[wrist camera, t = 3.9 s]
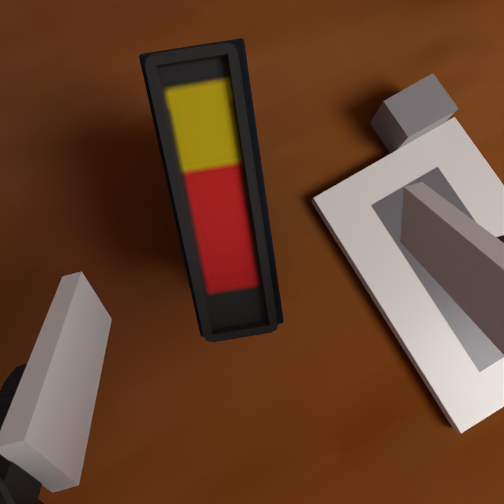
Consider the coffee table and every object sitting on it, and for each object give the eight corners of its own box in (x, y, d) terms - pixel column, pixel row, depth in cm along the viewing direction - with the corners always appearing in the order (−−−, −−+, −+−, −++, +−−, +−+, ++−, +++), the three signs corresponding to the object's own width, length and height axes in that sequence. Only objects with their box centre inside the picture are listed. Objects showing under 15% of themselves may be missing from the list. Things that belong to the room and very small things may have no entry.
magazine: (236, 91, 26) (245, 27, 12) (262, 262, 30) (293, 373, 15) (185, 99, 26) (129, 45, 12) (217, 269, 30) (206, 387, 15)
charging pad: (290, 168, 27) (294, 151, 24) (424, 92, 28) (445, 66, 24) (452, 427, 24) (480, 445, 21) (597, 335, 25) (644, 339, 22)
